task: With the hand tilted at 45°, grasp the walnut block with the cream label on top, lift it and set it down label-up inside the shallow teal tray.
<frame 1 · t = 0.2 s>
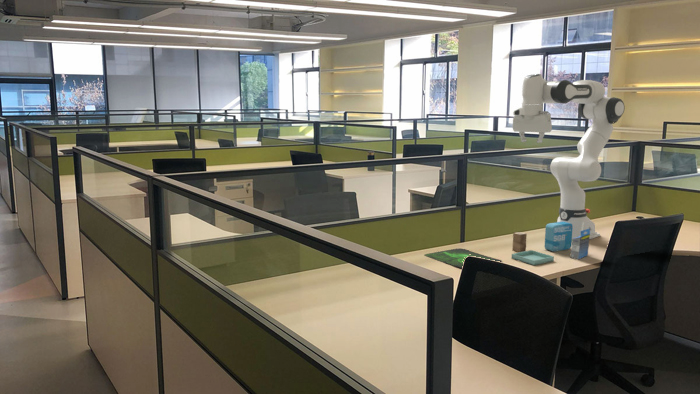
hand: (531, 142, 256), 48 cm above the table, tool pointing down, fingers open, 8 cm apart
blue soap box: (557, 249, 256), on the table
teal tray: (532, 259, 239), on the table
mouse mat: (461, 259, 242), on the table
walnut block: (519, 250, 254), on the table
label tape box: (579, 257, 244), on the table
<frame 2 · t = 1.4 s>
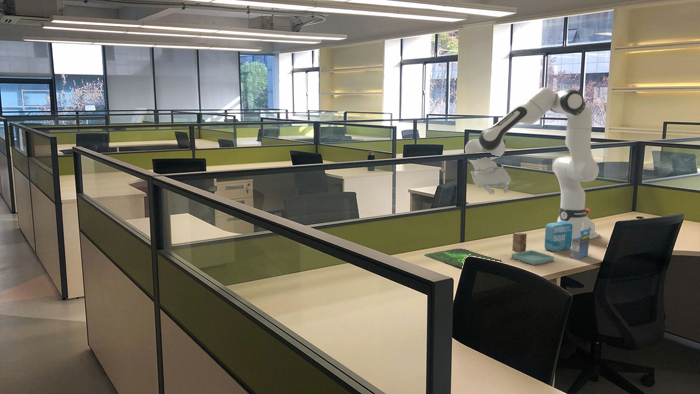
hand: (499, 192, 260), 24 cm above the table, tool tilted 45°, fingers open, 8 cm apart
nothing on the table moved.
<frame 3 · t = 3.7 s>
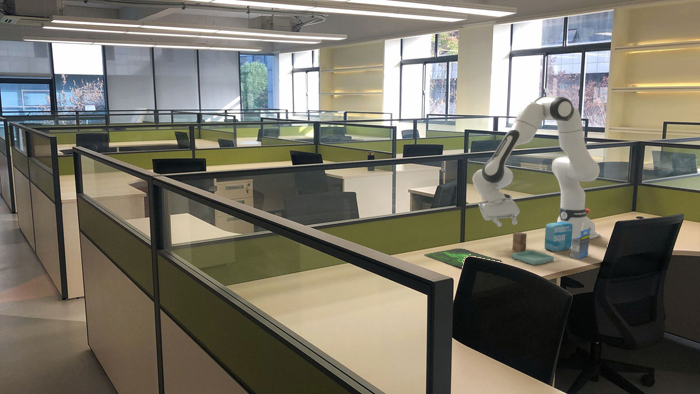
hand: (508, 225, 258), 10 cm above the table, tool tilted 45°, fingers open, 8 cm apart
nothing on the table moved.
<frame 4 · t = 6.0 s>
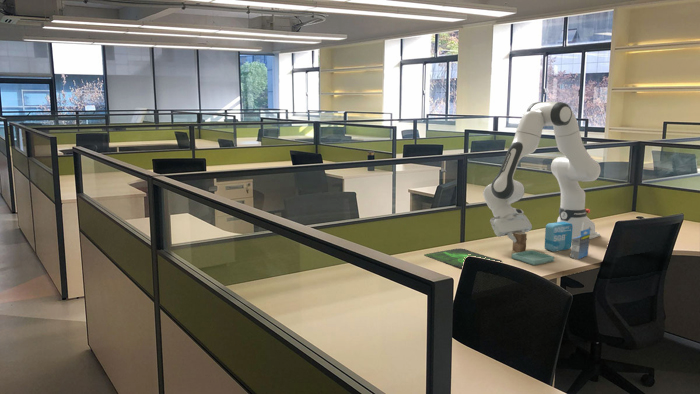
hand: (520, 241, 252), 5 cm above the table, tool tilted 45°, fingers closed on walnut block, 4 cm apart
walnut block: (519, 250, 254), on the table, touching gripper
everything else where it was.
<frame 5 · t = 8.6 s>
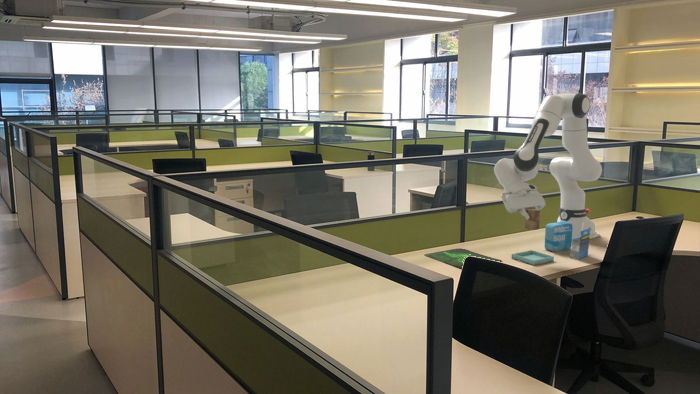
hand: (533, 218, 237), 18 cm above the table, tool tilted 45°, fingers closed on walnut block, 4 cm apart
walnut block: (531, 228, 238), point 13 cm above the table, touching gripper
everything else where it was.
when the fingers open (6 cm above the table, at t = 11.2 s): walnut block drops 1 cm, resting on teal tray.
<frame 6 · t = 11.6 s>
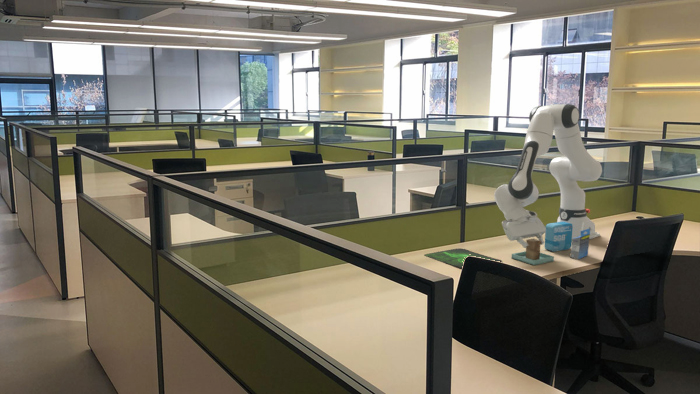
hand: (534, 245, 238), 6 cm above the table, tool tilted 45°, fingers open, 8 cm apart
walnut block: (532, 258, 239), resting on teal tray
everything else where it was.
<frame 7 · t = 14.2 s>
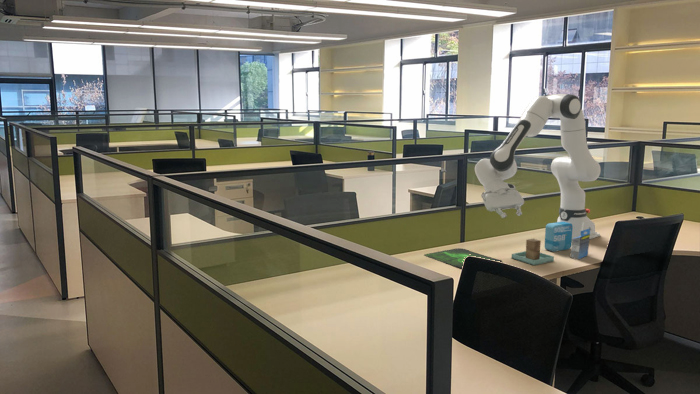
hand: (512, 215, 248), 17 cm above the table, tool tilted 45°, fingers open, 8 cm apart
nothing on the table moved.
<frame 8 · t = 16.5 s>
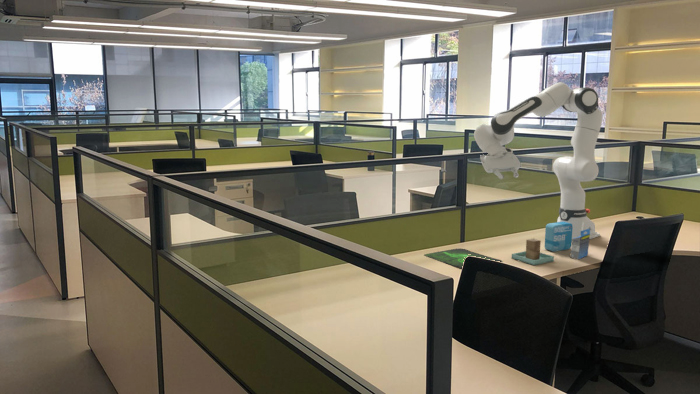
hand: (509, 177, 260), 31 cm above the table, tool tilted 45°, fingers open, 8 cm apart
nothing on the table moved.
at the end: walnut block 0.1 cm off-centre on the teal tray, point 0.5 cm above the teal tray's base; walnut block tilted 0°; the gripper is holding nothing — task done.
